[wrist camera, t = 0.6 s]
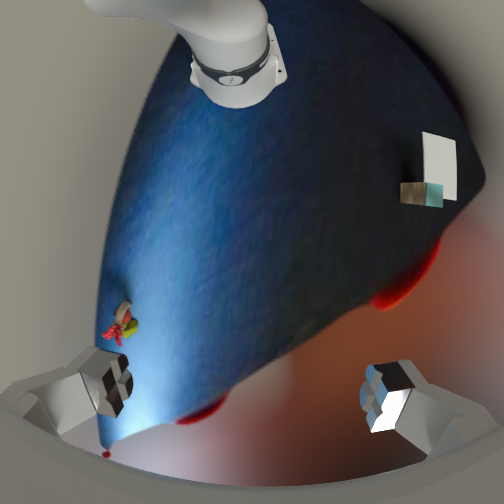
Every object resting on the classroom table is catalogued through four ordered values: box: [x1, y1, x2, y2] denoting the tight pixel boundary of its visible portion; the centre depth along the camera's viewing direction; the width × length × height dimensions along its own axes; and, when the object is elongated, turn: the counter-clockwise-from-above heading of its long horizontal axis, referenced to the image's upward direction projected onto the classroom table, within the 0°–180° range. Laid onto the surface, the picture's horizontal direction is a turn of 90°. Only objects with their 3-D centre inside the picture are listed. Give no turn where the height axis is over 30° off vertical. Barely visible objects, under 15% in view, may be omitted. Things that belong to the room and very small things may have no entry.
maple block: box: [400, 182, 443, 207], centre depth 43 cm, size 4×4×10 cm
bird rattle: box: [102, 301, 138, 346], centre depth 51 cm, size 6×11×9 cm
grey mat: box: [422, 132, 457, 200], centre depth 46 cm, size 14×10×1 cm
